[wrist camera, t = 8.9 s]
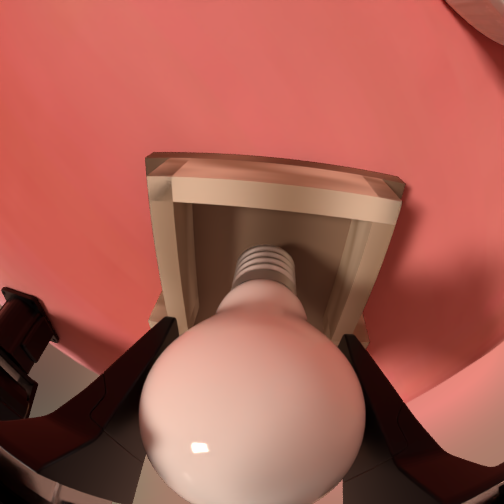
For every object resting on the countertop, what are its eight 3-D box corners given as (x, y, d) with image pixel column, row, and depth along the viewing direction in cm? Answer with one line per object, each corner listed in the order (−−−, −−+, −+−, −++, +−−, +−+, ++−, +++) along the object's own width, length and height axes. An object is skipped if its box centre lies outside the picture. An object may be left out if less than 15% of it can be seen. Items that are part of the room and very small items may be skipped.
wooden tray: (184, 366, 23) (175, 399, 20) (153, 152, 13) (118, 175, 10) (321, 380, 22) (323, 414, 19) (397, 176, 12) (428, 207, 9)
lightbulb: (355, 270, 13) (403, 505, 4) (258, 323, 16) (236, 518, 7) (277, 169, 11) (256, 523, 2) (175, 250, 14) (77, 474, 4)
